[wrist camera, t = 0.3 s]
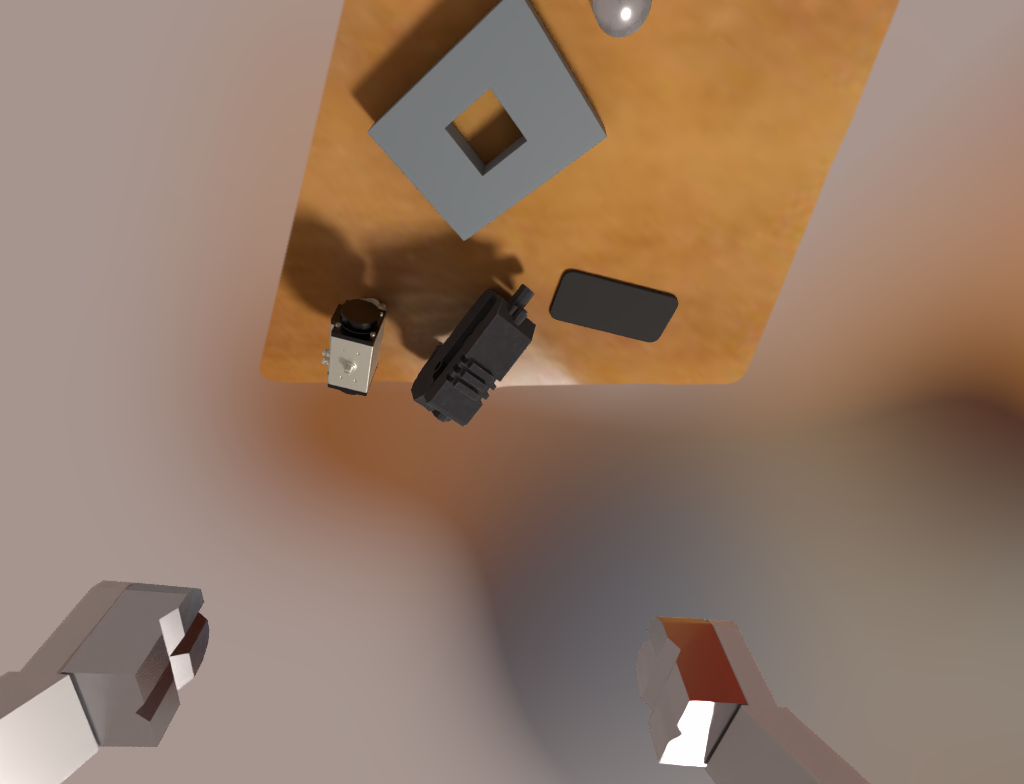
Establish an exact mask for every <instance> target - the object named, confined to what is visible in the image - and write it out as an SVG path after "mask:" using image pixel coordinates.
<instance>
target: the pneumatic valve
mask: <svg viewBox="0 0 1024 784" xmlns="http://www.w3.org/2000/svg"><path fill="white" fill-rule="evenodd" d="M385 316H386V306H385V304H383V303H382V304H380V302H379V301H378V300H376V299H374V298H366V299H364V298H362V299H361V300H360V299H355V300H350V301H348V300H347V301H346V302H345V303H344V304H343V305H341V304H339V305H338V307H337V309H336V311H335V313H334V315H333V317H332V319H331V329H330V345H329V350H328V351H327V349H324V350H323V353H322V355H323V356H326V354H327V357H329V358H326V357H323V359H322V364H325V363H326V365H328V387H330V388H334V389H338V390H341V391H342V392H344V393H346V394H351V395H356V394H359V395H363V396H366V395H367V393H368V390H369V387H370V385H371V382H372V379H373V376H374V374H375V371H376V368H377V365H378V361H379V355H380V348H381V342H382V335H383V329H384V322H385Z"/></svg>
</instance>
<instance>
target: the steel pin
mask: <svg viewBox="0 0 1024 784" xmlns="http://www.w3.org/2000/svg"><path fill="white" fill-rule="evenodd" d="M651 1H652V0H589V2H590V5H591V7H592V10H593V12H594V15H595V17H596V20H597V22H598V24H599V26H600V28H601V29H602V30H603V31H604V32H605V33H607V34H608V35H610V36H613V37H625V36H628V35H630V34H632V33H634V32H635V31H637V30H638V29H639V28H640V27H641V26H642V24H643V23H644V21H645V20H646V18H647V16H648V14H649V11H650V7H651Z"/></svg>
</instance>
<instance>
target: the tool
mask: <svg viewBox="0 0 1024 784" xmlns="http://www.w3.org/2000/svg"><path fill="white" fill-rule="evenodd" d="M533 295H534V293H533V292H532V291H531V290H530V289H529V288H528V287H526V286H525V285H524V284H522V285H521V286H520V287H519V289H518V290H517V291H516V293H515V294H514V295H513V296H512V298H511V299H510V300H509V302H507V301H506V300H504V299H503V298H502V297H501V296H499V295H498V294H496V293H495V292H493V291H491V290H489V289H488V290H487V291H485V292H484V293H483V294H482V295H481V297H480V298H479V299H478V301H477V302H476V303H475V304H474V306H473V307H472V308H471V309H470V311H469V312H468V313H467V315H466V316H465V317H464V318H463V320H462V321H461V322H460V324H459V325H458V326H457V327H456V329H455V330H454V331H453V332H452V334H451V335H450V336H449V338H448V339H447V340H446V341H445V343H444V344H443V345H442V347H439V346H438V347H437V348H436V350H435V351H434V352H433V354H432V355H431V357H430V358H429V360H428V361H427V363H426V364H425V365H424V367H423V368H422V370H421V371H420V373H419V374H418V377H417V378H416V380H415V381H414V383H413V386H412V389H411V391H412V395H413V399H414V401H416V402H417V403H419V404H421V405H422V406H424V407H425V408H426V409H427V410H428V411H432V413H433V415H434V416H435V417H436V418H437V419H439V420H440V421H442V422H446V421H448V422H449V421H451V420H453V421H455V422H457V423H458V424H460V425H461V426H464V425H467V424H468V422H469V421H470V420H471V419H472V417H473V416H474V415H475V413H476V412H477V411H478V410H479V408H480V407H481V406H482V402H481V401H480V400H481V399H482V398H484V399H485V400H486V399H487V398H488V397H489V394H488V393H487V391H488V390H489V388H491V389H492V390H494V389H495V388H496V385H495V384H494V382H495V381H496V379H497V380H499V381H501V380H502V379H503V377H504V376H505V375H506V374H507V372H508V371H509V370H510V368H511V367H512V366H513V364H514V363H515V362H516V361H517V359H518V358H519V357H520V355H521V354H522V353H523V351H524V350H525V349H526V348H527V346H528V345H529V344H530V342H531V341H532V337H533V333H534V330H535V326H536V325H535V324H534V323H533V322H531V321H530V320H529V319H528V318H526V317H527V314H526V313H527V311H526V310H525V309H523V308H524V307H525V305H526V304H527V303H528V302H529V300H530V299H531V298H532V296H533Z"/></svg>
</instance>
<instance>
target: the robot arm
mask: <svg viewBox="0 0 1024 784" xmlns="http://www.w3.org/2000/svg"><path fill="white" fill-rule="evenodd" d="M203 603H204V600H203V596H202V592H201V589H197V588H187V587H175V586H165V585H154V584H142V583H130V582H117V581H102V582H100V583H99V584H97V585H95V586H94V587H92V588H91V589H90V590H89V591H88V593H87V594H86V595H85V596H84V597H83V598H82V600H81V601H80V602H79V603H78V604H77V605H76V606H75V608H74V609H73V610H72V611H71V612H70V613H69V615H68V616H67V617H66V618H65V620H63V622H62V623H61V624H60V625H59V626H58V628H57V629H56V630H55V631H54V632H53V633H52V634H51V636H50V637H49V638H48V639H47V640H46V641H45V643H44V644H43V645H42V646H41V647H40V648H39V650H38V651H37V652H36V653H35V654H34V655H33V657H32V658H31V659H30V660H29V661H28V662H27V664H26V665H25V666H24V667H23V668H22V670H21V671H20V672H7V673H6V674H4V675H3V676H0V784H61V783H62V782H63V781H64V780H65V779H66V778H67V777H69V776H70V775H71V774H72V773H73V772H74V771H75V770H76V769H78V768H79V767H80V766H81V765H82V764H83V763H84V762H86V761H87V760H88V759H89V758H90V757H92V756H93V755H94V754H95V753H96V752H97V751H98V750H99V747H98V746H138V747H139V746H140V747H142V746H144V747H146V746H147V747H157V746H158V745H159V743H160V741H161V739H162V737H163V735H164V733H165V731H166V730H167V728H168V726H169V724H170V722H171V720H172V718H173V717H174V715H175V713H176V711H177V709H178V707H179V705H180V701H179V696H178V691H177V690H178V689H180V688H181V687H182V686H184V685H185V684H186V683H187V682H189V681H190V680H192V679H193V678H194V677H195V675H196V673H197V671H198V669H199V667H200V665H201V663H202V661H203V658H204V655H205V652H206V648H207V645H208V639H209V626H208V620H207V619H206V618H205V617H204V616H203V615H202V614H200V613H199V610H200V608H201V607H202V605H203ZM647 630H648V633H649V637H650V639H649V640H647V641H646V642H645V643H643V644H642V645H641V646H640V649H639V652H638V655H637V666H636V674H637V682H638V687H639V691H640V695H641V699H642V700H643V701H644V702H645V703H646V704H647V705H648V706H649V707H650V709H651V710H652V711H653V712H652V715H651V717H650V720H649V722H648V726H649V729H650V732H651V736H652V740H653V744H654V747H655V751H656V755H657V758H658V762H659V763H663V764H678V765H694V766H706V767H705V770H706V772H707V773H708V774H709V775H710V777H711V778H712V779H713V781H714V782H715V783H716V784H870V783H869V782H868V781H867V780H866V779H865V778H864V777H863V776H861V775H860V774H859V773H858V772H857V771H856V770H855V769H854V768H853V767H852V766H850V765H849V764H848V763H847V762H846V761H845V760H844V759H843V758H842V757H840V756H839V755H838V754H837V753H836V752H835V751H834V750H833V749H832V748H831V747H829V746H828V745H827V744H826V743H825V742H824V741H823V740H821V738H819V737H818V736H817V735H816V734H815V733H814V732H813V731H812V730H811V729H809V728H808V727H807V726H806V725H805V724H804V723H803V722H802V721H801V720H800V719H798V718H797V717H796V716H795V715H794V714H793V713H792V712H790V710H788V709H787V708H786V707H778V705H777V703H776V701H775V699H774V697H773V695H772V693H771V691H770V689H769V687H768V685H767V683H766V681H765V679H764V677H763V675H762V673H761V671H760V669H759V667H758V665H757V663H756V661H755V659H754V657H753V655H752V653H751V651H750V650H749V648H748V646H747V644H746V642H745V640H744V638H743V636H742V634H741V632H740V630H739V628H738V626H737V625H736V624H735V623H734V622H732V621H720V620H704V619H696V618H695V619H694V618H676V617H675V618H674V617H654V618H653V619H652V620H651V621H650V624H649V626H648V629H647Z"/></svg>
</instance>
